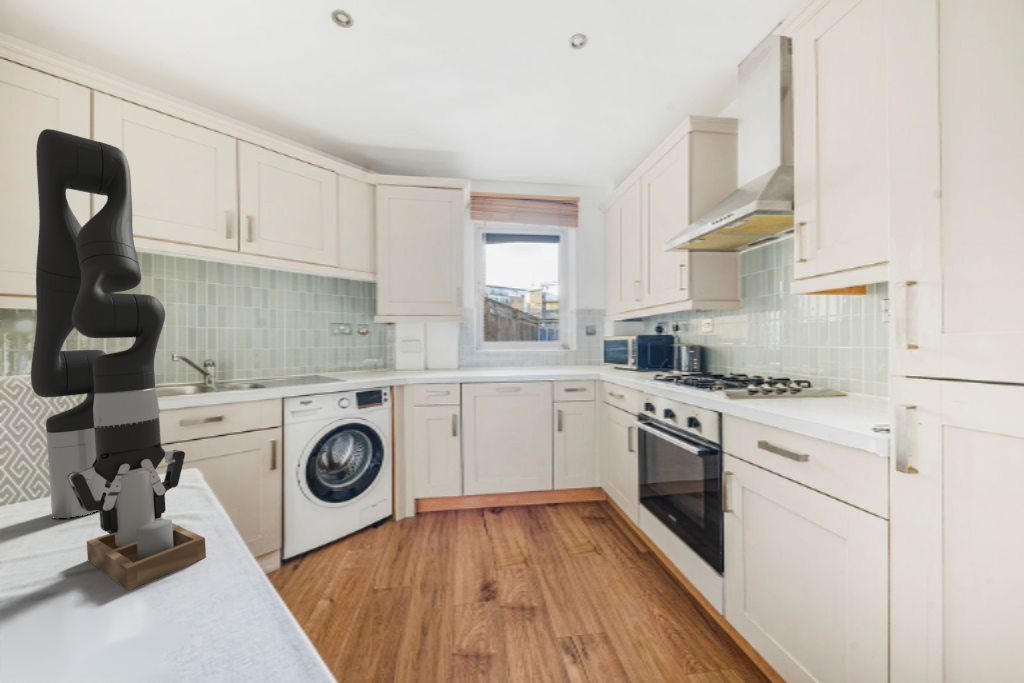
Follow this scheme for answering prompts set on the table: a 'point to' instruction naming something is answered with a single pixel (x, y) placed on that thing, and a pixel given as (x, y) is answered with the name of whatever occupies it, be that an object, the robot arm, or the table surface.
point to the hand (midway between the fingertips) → (134, 524)
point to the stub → (154, 538)
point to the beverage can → (133, 505)
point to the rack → (135, 573)
